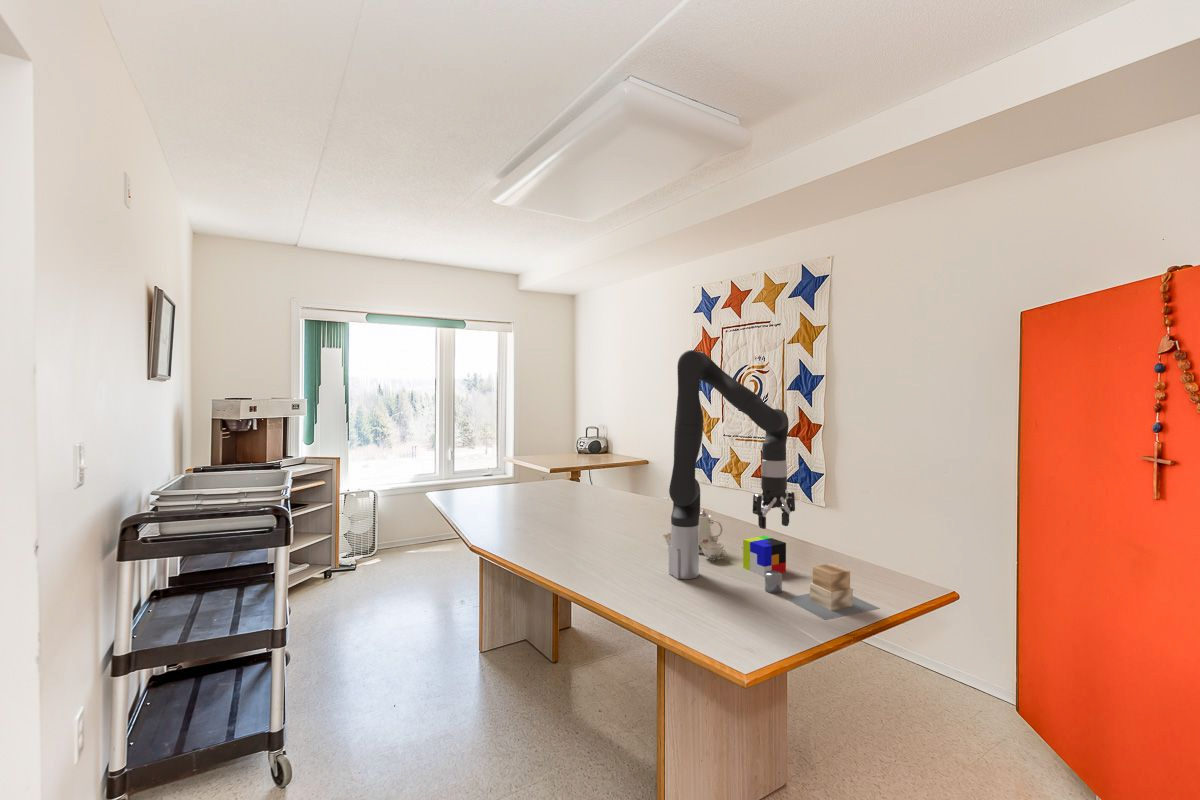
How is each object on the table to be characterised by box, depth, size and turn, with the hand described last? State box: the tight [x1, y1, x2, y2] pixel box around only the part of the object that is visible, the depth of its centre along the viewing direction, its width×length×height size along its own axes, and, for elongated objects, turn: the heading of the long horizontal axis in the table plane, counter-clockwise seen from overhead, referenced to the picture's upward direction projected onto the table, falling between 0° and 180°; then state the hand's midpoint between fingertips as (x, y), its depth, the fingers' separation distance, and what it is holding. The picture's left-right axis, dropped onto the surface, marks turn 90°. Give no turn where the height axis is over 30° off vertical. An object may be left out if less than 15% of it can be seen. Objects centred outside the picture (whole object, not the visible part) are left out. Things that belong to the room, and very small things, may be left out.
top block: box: [812, 563, 851, 592], centre depth 155 cm, size 7×7×5 cm
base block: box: [809, 582, 854, 611], centre depth 155 cm, size 8×8×5 cm
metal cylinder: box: [764, 571, 783, 595], centre depth 164 cm, size 5×5×6 cm
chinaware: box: [663, 508, 727, 561], centre depth 205 cm, size 28×17×17 cm, turn 48°
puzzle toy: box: [742, 535, 787, 577], centre depth 185 cm, size 10×10×10 cm
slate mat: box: [784, 593, 881, 621], centre depth 155 cm, size 20×16×1 cm
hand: (774, 526), depth 164 cm, fingers open, 8 cm apart
